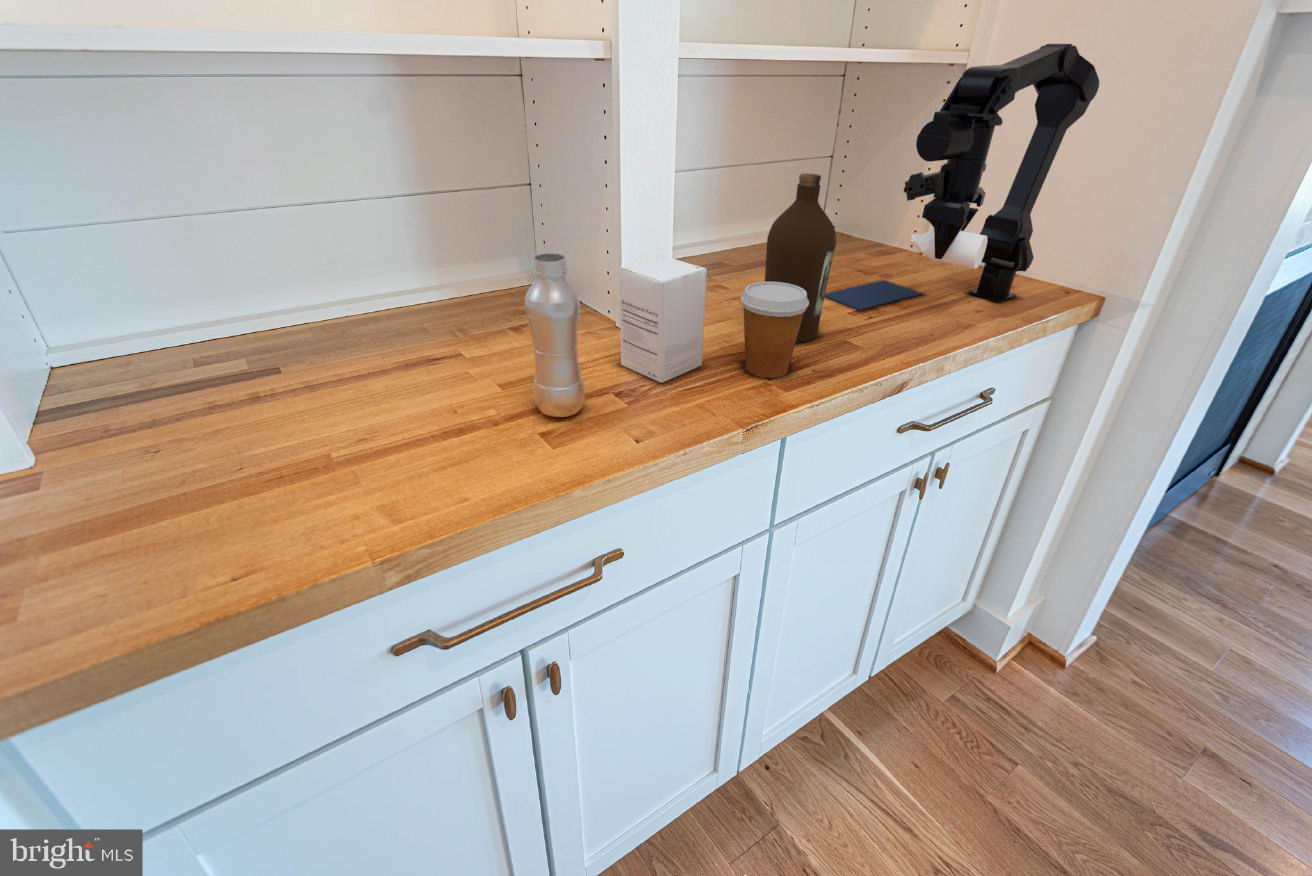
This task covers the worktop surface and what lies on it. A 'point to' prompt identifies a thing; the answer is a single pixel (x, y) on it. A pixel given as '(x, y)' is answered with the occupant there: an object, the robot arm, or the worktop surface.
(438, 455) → the worktop surface
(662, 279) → the white product box
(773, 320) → the disposable coffee cup
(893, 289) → the cloth
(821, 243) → the olive oil
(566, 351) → the plastic bottle
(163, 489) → the worktop surface
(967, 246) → the white tapered cylinder
